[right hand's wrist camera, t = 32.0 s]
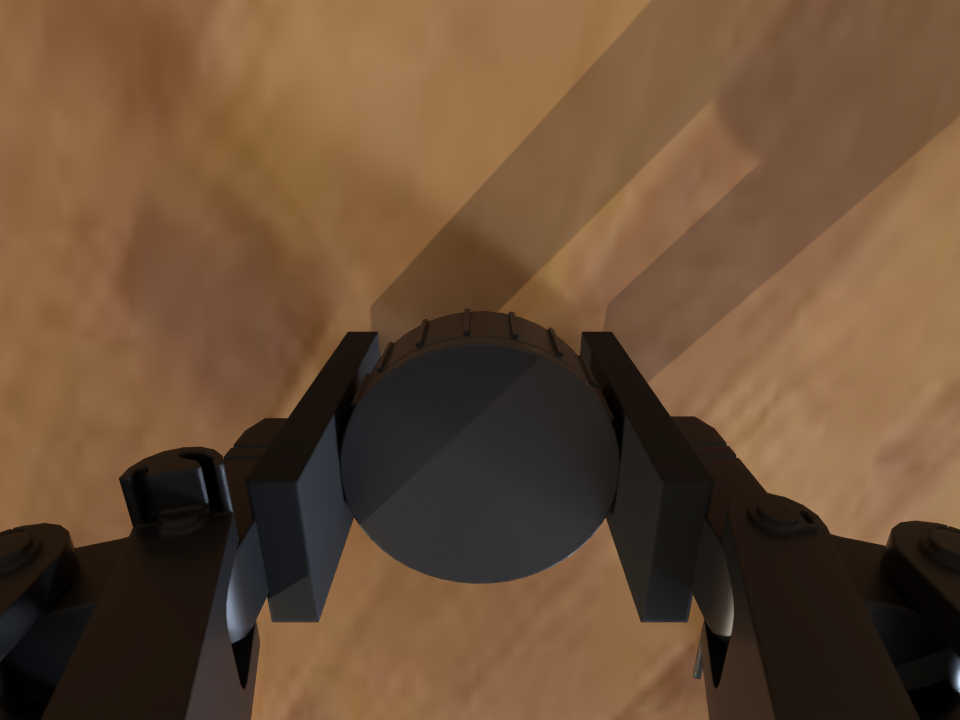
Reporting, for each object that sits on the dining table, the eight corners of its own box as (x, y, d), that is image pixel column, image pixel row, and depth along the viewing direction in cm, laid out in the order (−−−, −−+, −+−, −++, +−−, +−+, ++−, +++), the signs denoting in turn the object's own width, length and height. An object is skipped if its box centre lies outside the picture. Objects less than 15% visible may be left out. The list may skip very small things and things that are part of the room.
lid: (437, 255, 11) (429, 278, 9) (653, 390, 12) (686, 437, 10) (314, 456, 12) (286, 511, 10) (513, 558, 13) (519, 624, 12)
